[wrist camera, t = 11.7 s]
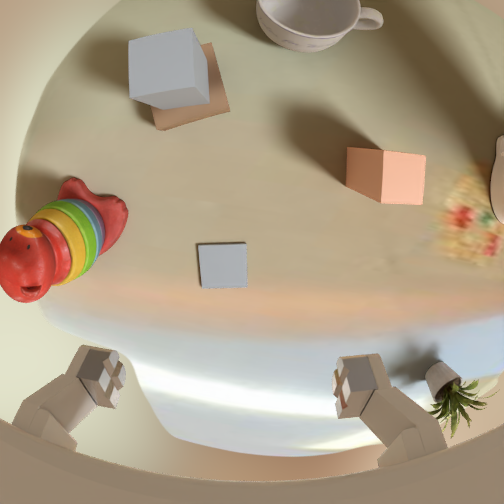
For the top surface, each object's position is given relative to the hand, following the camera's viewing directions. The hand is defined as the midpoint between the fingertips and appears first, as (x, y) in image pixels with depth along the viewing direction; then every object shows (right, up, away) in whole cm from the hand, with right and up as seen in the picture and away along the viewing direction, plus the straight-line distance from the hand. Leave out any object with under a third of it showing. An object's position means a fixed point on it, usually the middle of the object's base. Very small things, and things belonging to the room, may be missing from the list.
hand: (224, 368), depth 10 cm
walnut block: (-6, +23, +21) cm, 32 cm away
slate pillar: (-6, +22, +17) cm, 28 cm away
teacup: (+8, +32, +18) cm, 37 cm away
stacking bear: (-21, +8, +25) cm, 34 cm away
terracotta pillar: (+15, +15, +24) cm, 32 cm away
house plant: (+39, -19, +39) cm, 58 cm away
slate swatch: (-3, +2, +28) cm, 28 cm away
